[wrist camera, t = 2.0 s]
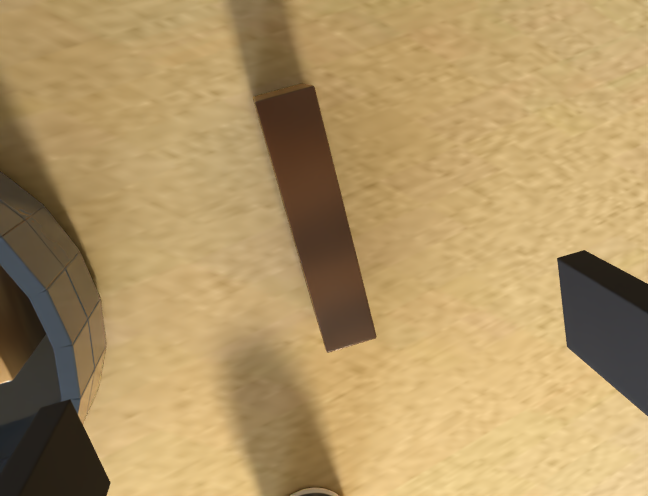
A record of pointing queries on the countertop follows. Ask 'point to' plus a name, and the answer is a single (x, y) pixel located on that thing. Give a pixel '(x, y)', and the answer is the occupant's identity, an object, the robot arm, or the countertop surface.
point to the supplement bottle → (314, 492)
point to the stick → (316, 213)
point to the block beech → (16, 328)
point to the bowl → (48, 316)
